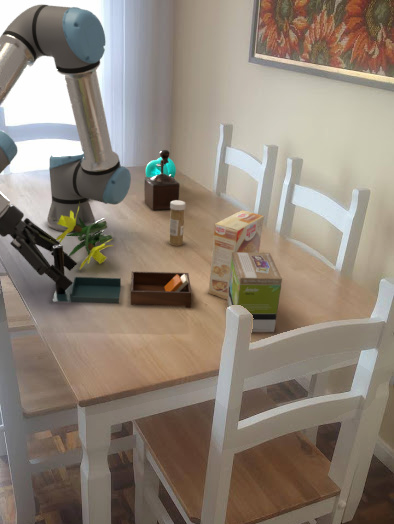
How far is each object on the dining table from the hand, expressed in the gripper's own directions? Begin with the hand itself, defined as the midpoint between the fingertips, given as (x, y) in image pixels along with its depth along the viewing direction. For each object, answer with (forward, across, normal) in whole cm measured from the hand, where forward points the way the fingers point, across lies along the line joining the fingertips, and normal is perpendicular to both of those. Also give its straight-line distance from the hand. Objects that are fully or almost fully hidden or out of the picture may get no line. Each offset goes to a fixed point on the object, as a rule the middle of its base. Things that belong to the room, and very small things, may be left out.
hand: (71, 276), depth 145 cm
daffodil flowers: (+5, -25, -2) cm, 26 cm away
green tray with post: (+6, 0, -1) cm, 6 cm away
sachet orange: (+20, -1, +17) cm, 27 cm away
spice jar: (+24, -37, +17) cm, 47 cm away
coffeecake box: (+34, -6, +27) cm, 43 cm away
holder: (+19, 0, +13) cm, 23 cm away
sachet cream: (+21, -2, +18) cm, 27 cm away
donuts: (+22, -103, +15) cm, 106 cm away
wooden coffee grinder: (+21, -77, +14) cm, 81 cm away
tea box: (+35, +11, +28) cm, 46 cm away
